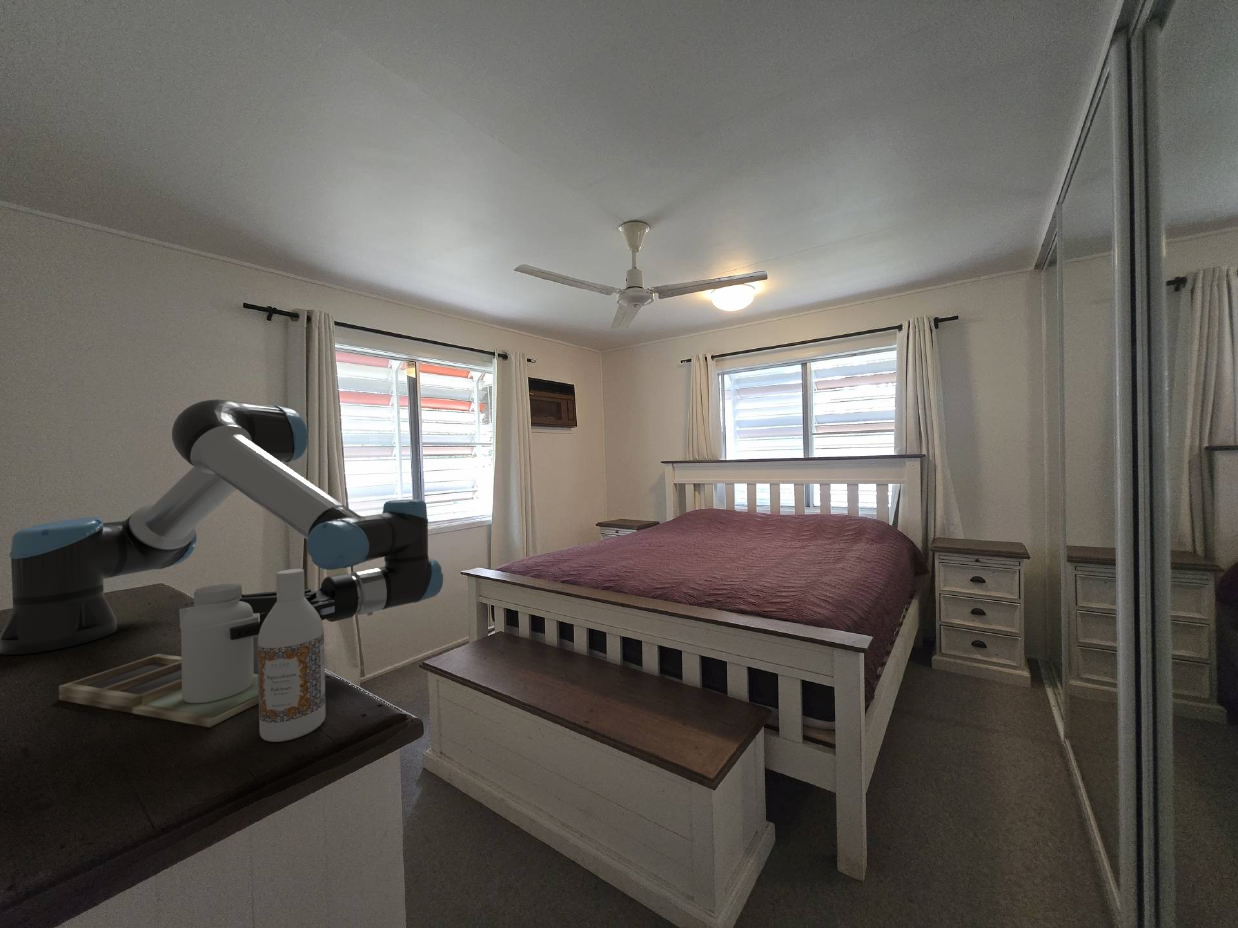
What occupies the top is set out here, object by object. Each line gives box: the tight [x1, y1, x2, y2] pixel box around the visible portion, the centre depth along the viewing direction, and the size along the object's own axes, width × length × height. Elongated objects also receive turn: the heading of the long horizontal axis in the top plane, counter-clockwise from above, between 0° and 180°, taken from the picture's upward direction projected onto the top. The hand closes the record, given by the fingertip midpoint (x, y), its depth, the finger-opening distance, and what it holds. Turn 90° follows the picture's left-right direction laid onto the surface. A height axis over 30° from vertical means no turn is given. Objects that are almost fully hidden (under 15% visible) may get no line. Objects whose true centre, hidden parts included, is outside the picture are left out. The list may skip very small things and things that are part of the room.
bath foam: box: [256, 568, 326, 743], centre depth 61 cm, size 7×7×20 cm
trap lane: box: [58, 653, 259, 728], centre depth 71 cm, size 30×12×2 cm, turn 74°
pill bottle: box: [180, 583, 255, 703], centre depth 69 cm, size 8×8×15 cm
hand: (187, 628), depth 66 cm, fingers open, 13 cm apart
